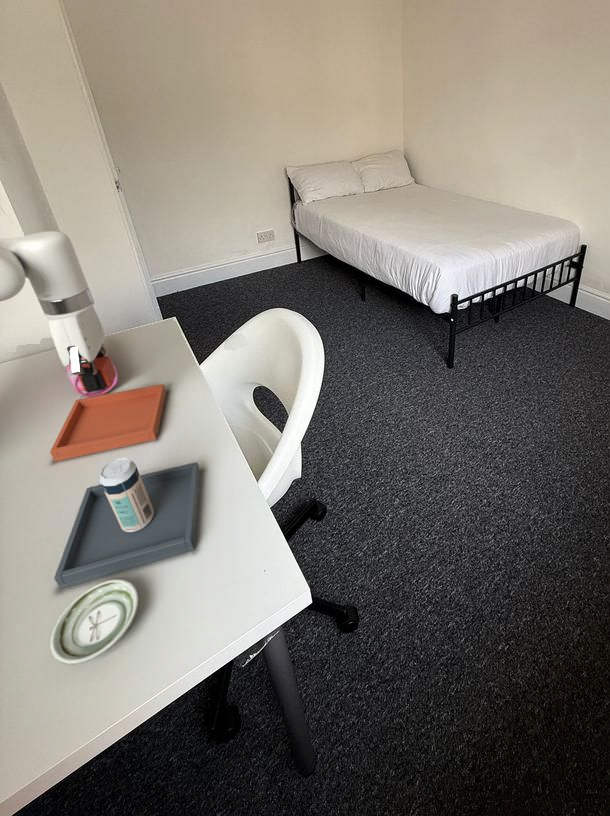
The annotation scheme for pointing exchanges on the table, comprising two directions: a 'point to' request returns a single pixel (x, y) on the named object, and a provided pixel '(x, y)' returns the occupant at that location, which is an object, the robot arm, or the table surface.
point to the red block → (103, 370)
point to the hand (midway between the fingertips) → (100, 381)
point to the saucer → (94, 622)
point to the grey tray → (119, 550)
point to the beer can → (126, 494)
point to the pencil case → (79, 388)
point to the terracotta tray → (110, 422)
